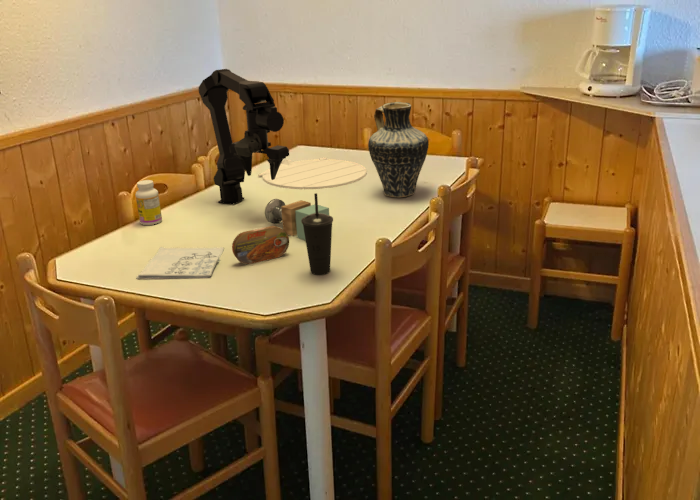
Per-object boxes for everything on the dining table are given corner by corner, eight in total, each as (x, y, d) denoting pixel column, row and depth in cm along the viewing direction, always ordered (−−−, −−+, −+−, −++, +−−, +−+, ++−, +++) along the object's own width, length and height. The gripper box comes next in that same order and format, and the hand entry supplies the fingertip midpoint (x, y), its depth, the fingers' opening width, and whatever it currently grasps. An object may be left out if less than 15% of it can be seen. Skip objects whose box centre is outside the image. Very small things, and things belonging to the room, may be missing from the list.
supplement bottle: (139, 220, 204) (132, 180, 199) (161, 217, 206) (155, 177, 201) (140, 227, 198) (134, 186, 193) (163, 224, 200) (157, 183, 195)
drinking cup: (304, 266, 166) (299, 190, 159) (334, 264, 167) (331, 188, 159) (305, 278, 159) (299, 199, 152) (336, 276, 160) (332, 197, 152)
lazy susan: (240, 176, 250) (239, 167, 249) (319, 156, 274) (319, 148, 273) (306, 197, 222) (306, 187, 221) (388, 173, 246) (388, 164, 245)
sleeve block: (283, 233, 189) (281, 206, 186) (303, 226, 194) (301, 200, 191) (292, 236, 187) (290, 209, 184) (312, 228, 192) (310, 202, 189)
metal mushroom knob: (265, 226, 194) (263, 202, 192) (284, 219, 199) (283, 196, 196) (289, 234, 187) (287, 209, 185) (308, 227, 192) (307, 202, 190)
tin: (236, 267, 167) (232, 236, 164) (232, 263, 170) (229, 232, 167) (290, 255, 174) (288, 225, 170) (286, 251, 176) (284, 221, 173)
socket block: (297, 237, 185) (295, 210, 182) (316, 230, 190) (315, 204, 187) (310, 242, 182) (308, 214, 179) (330, 234, 187) (328, 207, 184)
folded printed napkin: (135, 281, 163) (133, 273, 162) (161, 250, 181) (159, 243, 180) (211, 280, 161) (210, 272, 161) (229, 249, 180) (228, 242, 179)
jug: (440, 193, 219) (441, 102, 208) (401, 207, 207) (400, 111, 196) (393, 182, 233) (393, 96, 222) (355, 195, 221) (352, 105, 210)
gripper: (214, 128, 192) (220, 180, 198) (264, 135, 183) (268, 188, 189) (239, 121, 201) (244, 171, 207) (288, 127, 192) (291, 179, 198)
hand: (261, 177), depth 200 cm, fingers open, 9 cm apart
